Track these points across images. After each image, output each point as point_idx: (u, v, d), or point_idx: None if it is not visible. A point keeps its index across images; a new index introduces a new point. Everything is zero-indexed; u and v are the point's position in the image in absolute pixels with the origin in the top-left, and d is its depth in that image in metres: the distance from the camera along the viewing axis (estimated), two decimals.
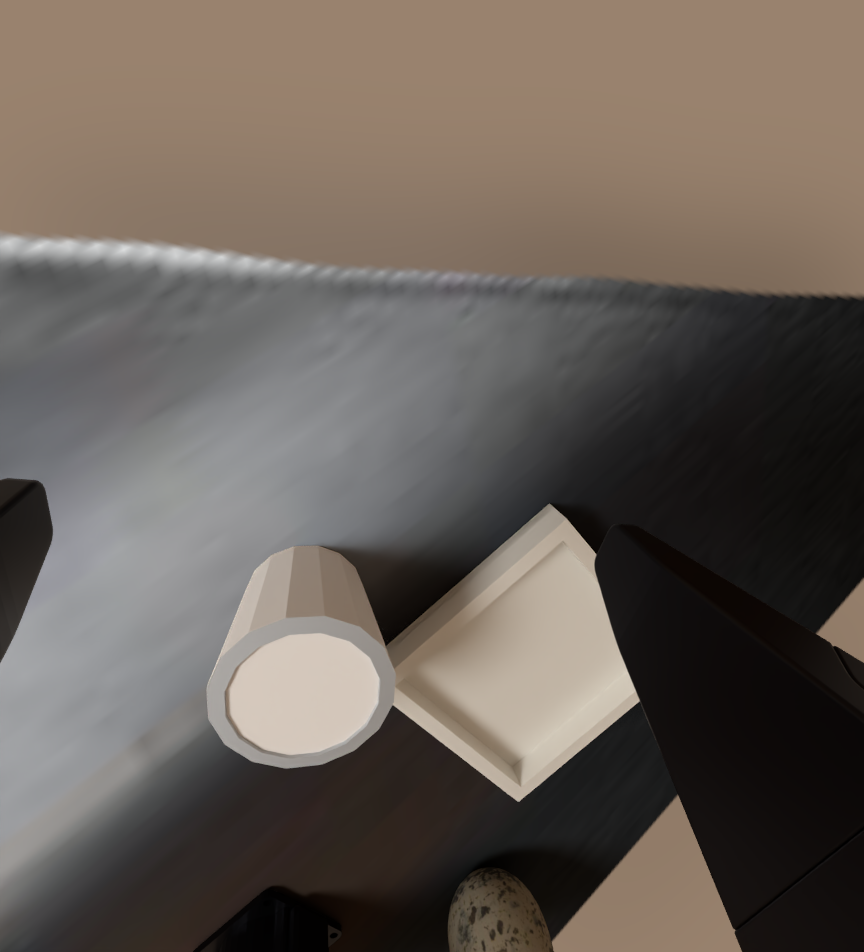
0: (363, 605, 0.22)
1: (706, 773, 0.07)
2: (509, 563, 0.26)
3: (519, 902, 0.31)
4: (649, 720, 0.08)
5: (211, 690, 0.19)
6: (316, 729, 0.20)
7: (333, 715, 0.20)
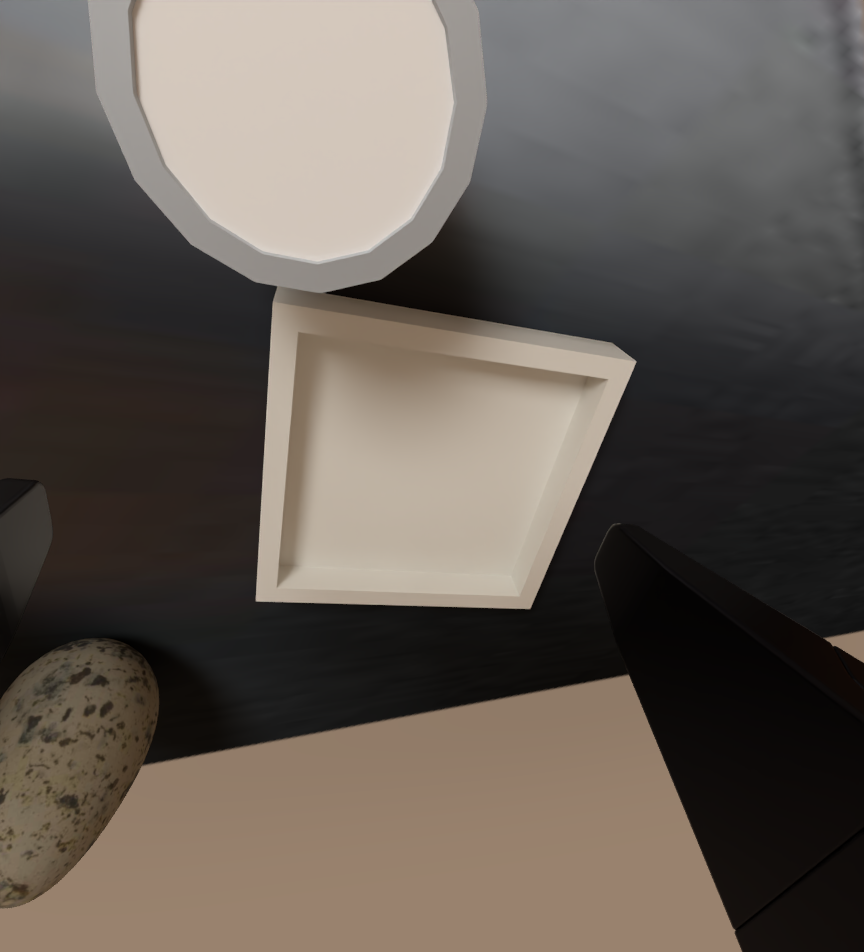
0: None
1: (706, 773, 0.07)
2: (546, 344, 0.19)
3: (146, 701, 0.22)
4: (649, 720, 0.08)
5: None
6: (250, 178, 0.10)
7: (297, 190, 0.10)
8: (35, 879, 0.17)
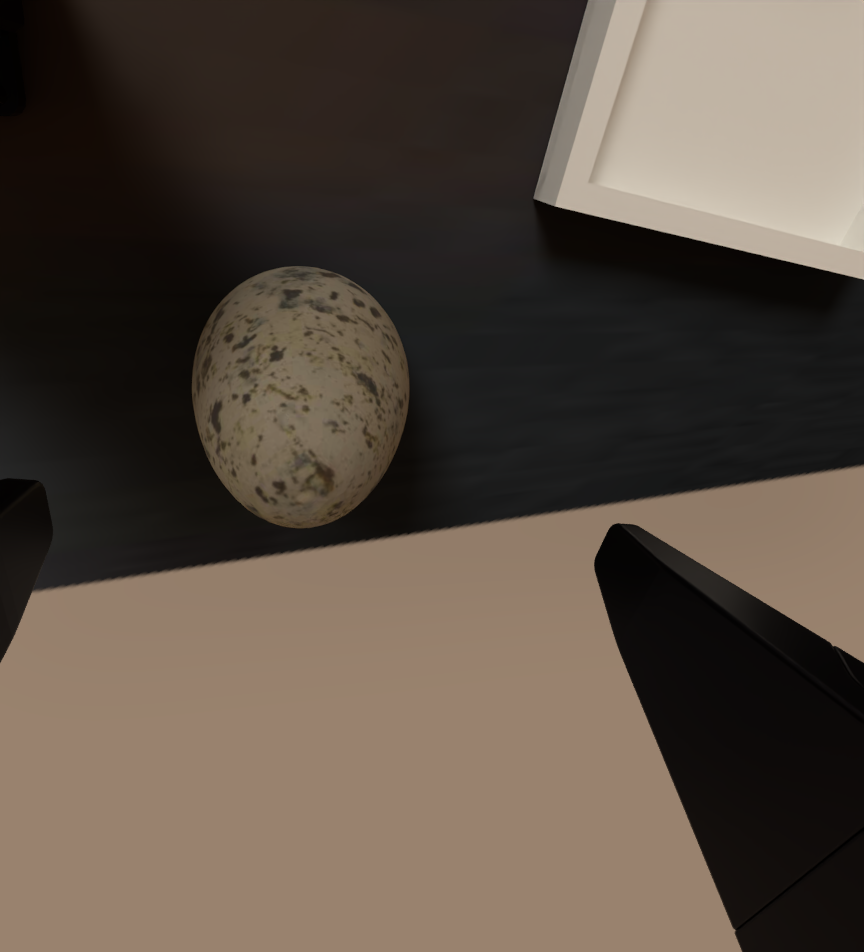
0: None
1: (706, 773, 0.07)
2: None
3: None
4: (649, 720, 0.08)
5: None
6: None
7: None
8: (342, 469, 0.11)
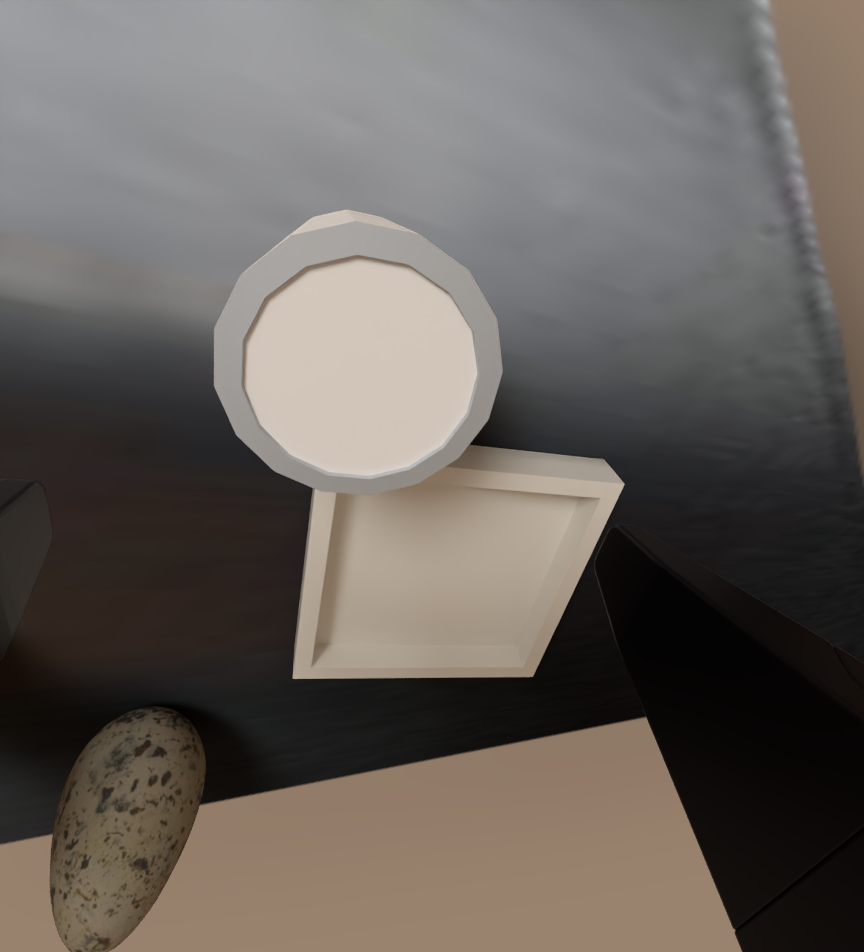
0: None
1: (706, 773, 0.07)
2: (546, 472, 0.22)
3: (197, 766, 0.26)
4: (649, 720, 0.08)
5: (292, 245, 0.11)
6: (322, 428, 0.13)
7: (356, 433, 0.14)
8: (115, 933, 0.21)
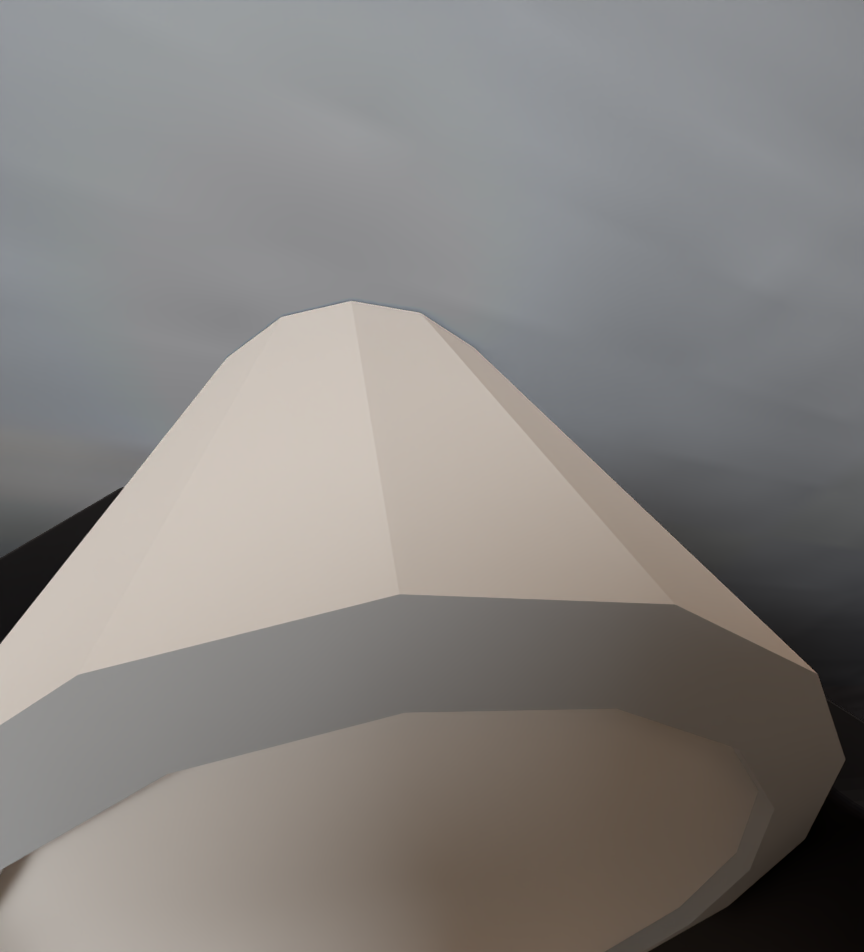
0: None
1: None
2: None
3: None
4: None
5: (94, 705, 0.02)
6: None
7: None
8: None
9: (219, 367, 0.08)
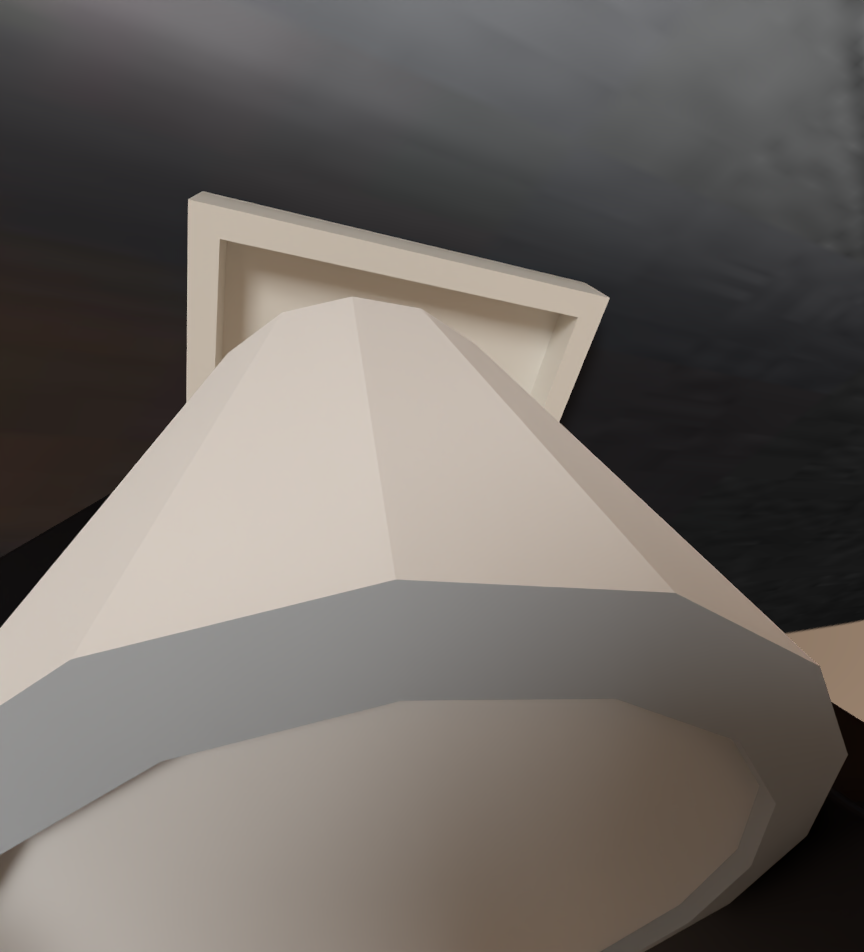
0: None
1: None
2: (508, 272, 0.17)
3: None
4: None
5: (87, 691, 0.02)
6: None
7: None
8: None
9: None
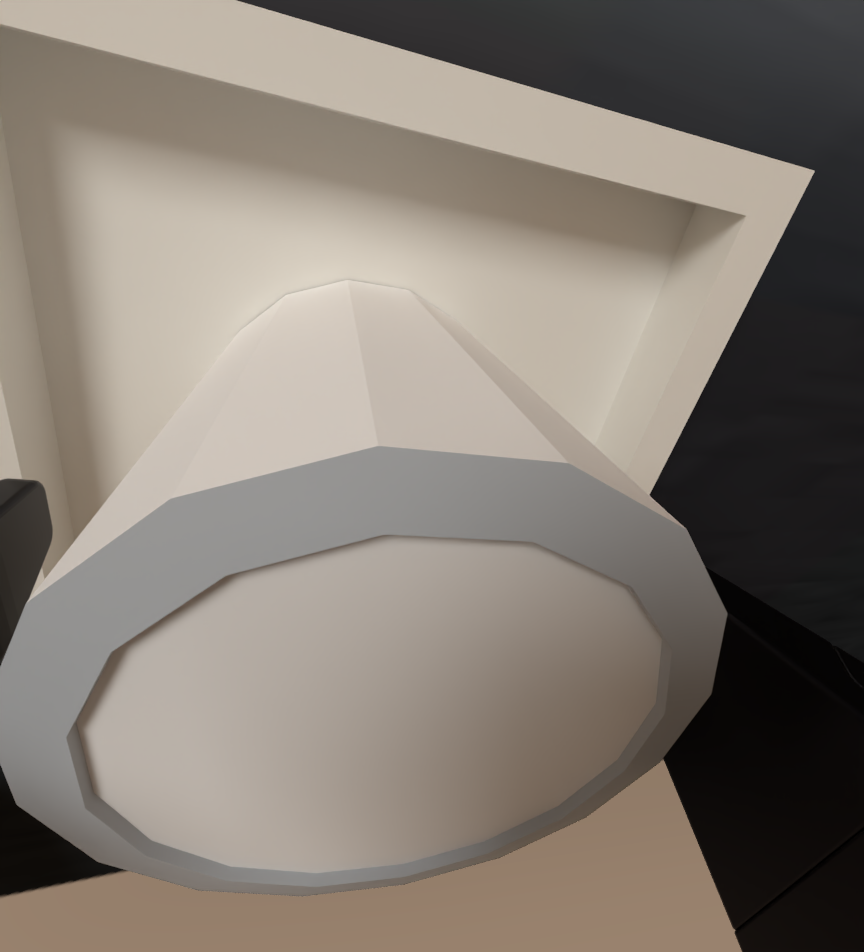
0: None
1: (706, 773, 0.07)
2: (610, 113, 0.08)
3: None
4: None
5: (179, 524, 0.03)
6: (300, 824, 0.06)
7: (377, 818, 0.06)
8: None
9: (233, 339, 0.09)
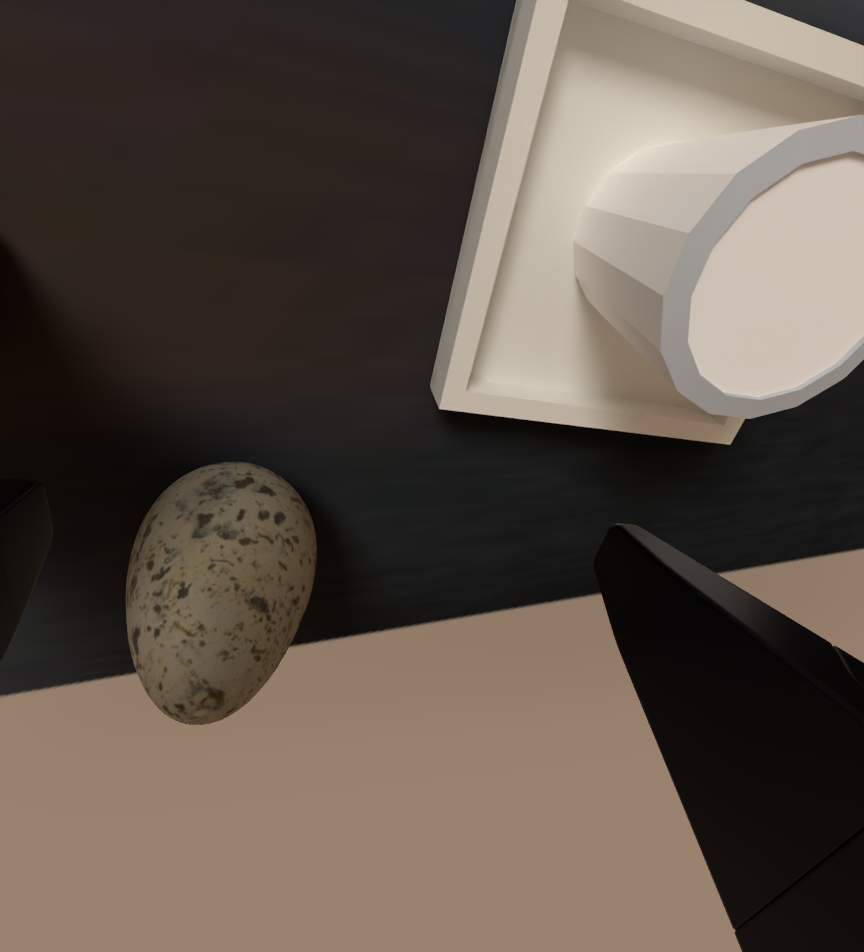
0: None
1: (706, 773, 0.07)
2: (842, 42, 0.15)
3: (310, 526, 0.19)
4: (649, 720, 0.08)
5: (794, 142, 0.11)
6: (738, 344, 0.13)
7: (765, 349, 0.13)
8: (231, 687, 0.14)
9: (614, 172, 0.16)
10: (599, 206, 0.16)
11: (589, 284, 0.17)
